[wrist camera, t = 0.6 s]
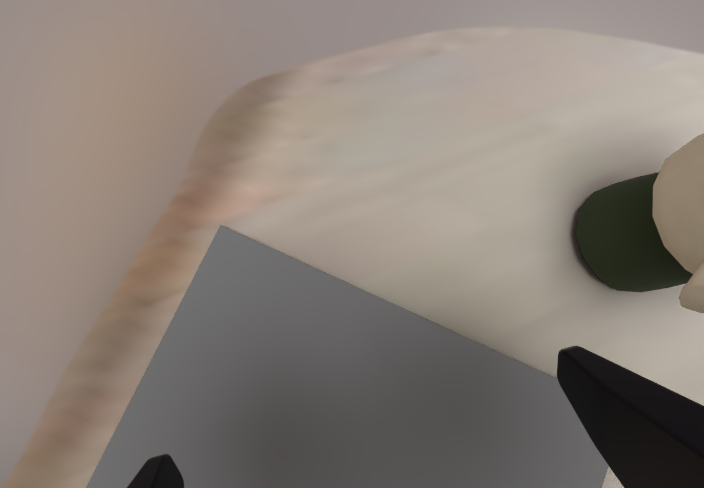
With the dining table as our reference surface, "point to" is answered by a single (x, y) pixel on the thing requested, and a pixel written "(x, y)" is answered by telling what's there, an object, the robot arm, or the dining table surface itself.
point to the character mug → (650, 229)
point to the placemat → (336, 393)
